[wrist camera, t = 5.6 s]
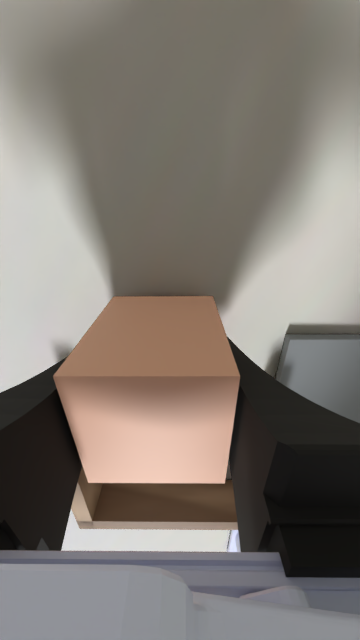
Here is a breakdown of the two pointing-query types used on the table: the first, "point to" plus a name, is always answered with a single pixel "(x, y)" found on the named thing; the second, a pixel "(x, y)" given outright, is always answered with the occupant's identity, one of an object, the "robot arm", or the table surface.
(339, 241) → the table surface
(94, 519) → the walnut stall
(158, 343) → the terracotta block
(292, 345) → the slate mat
